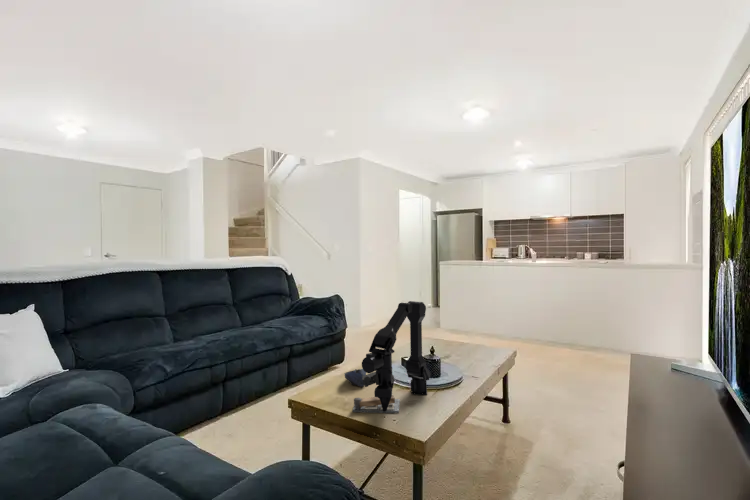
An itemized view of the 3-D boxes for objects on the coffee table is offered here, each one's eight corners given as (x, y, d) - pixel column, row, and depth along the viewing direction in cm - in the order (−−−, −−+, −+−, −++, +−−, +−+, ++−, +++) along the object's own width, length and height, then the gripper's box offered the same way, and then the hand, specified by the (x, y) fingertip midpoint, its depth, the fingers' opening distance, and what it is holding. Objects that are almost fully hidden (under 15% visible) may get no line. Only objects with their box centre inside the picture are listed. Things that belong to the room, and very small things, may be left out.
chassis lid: (400, 401, 157) (399, 398, 157) (398, 413, 146) (398, 410, 146) (356, 400, 159) (356, 397, 159) (352, 412, 148) (352, 409, 148)
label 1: (378, 404, 152) (378, 403, 152) (377, 408, 148) (377, 407, 148) (365, 404, 153) (365, 403, 153) (364, 408, 149) (364, 407, 149)
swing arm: (393, 401, 153) (392, 393, 153) (394, 404, 150) (394, 396, 150) (353, 405, 150) (353, 397, 150) (354, 408, 147) (354, 401, 147)
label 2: (394, 404, 152) (394, 403, 152) (393, 409, 148) (393, 408, 148) (381, 404, 152) (381, 403, 152) (380, 409, 148) (380, 407, 148)
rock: (347, 391, 169) (369, 385, 170) (343, 372, 172) (364, 366, 173) (348, 389, 184) (368, 384, 185) (345, 372, 186) (364, 367, 187)
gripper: (366, 359, 155) (367, 398, 155) (360, 373, 137) (361, 417, 137) (393, 359, 154) (394, 398, 154) (391, 374, 136) (392, 418, 135)
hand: (385, 407), depth 145 cm, fingers open, 7 cm apart
